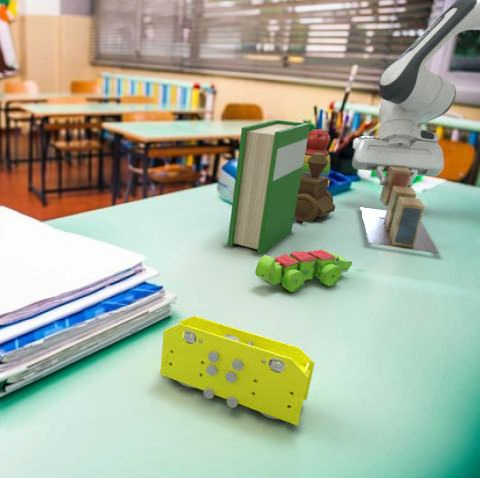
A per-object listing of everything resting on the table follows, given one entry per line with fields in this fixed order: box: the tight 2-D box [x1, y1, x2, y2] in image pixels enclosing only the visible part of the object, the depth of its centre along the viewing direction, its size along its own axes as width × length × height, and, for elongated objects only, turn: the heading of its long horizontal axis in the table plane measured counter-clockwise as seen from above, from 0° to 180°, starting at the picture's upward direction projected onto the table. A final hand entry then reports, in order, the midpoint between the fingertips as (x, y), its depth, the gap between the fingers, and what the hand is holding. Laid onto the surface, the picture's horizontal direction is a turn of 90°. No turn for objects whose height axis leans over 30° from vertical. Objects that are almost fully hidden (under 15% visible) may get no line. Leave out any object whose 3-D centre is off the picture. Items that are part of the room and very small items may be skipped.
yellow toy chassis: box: [159, 315, 315, 426], centre depth 56 cm, size 16×6×8 cm, turn 60°
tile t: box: [389, 196, 425, 248], centre depth 103 cm, size 4×6×9 cm, turn 158°
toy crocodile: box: [254, 249, 353, 293], centre depth 85 cm, size 20×7×6 cm, turn 111°
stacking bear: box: [302, 128, 331, 178], centre depth 143 cm, size 11×10×18 cm
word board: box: [360, 207, 439, 254], centre depth 114 cm, size 13×28×1 cm, turn 159°
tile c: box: [379, 166, 411, 207], centre depth 121 cm, size 4×6×9 cm, turn 164°
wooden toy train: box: [294, 153, 336, 223], centre depth 121 cm, size 20×11×17 cm, turn 47°
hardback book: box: [226, 119, 311, 256], centre depth 102 cm, size 18×7×24 cm, turn 143°
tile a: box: [384, 186, 417, 230], centre depth 112 cm, size 4×6×9 cm, turn 159°
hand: (396, 185), depth 121 cm, fingers closed on tile c, 4 cm apart
